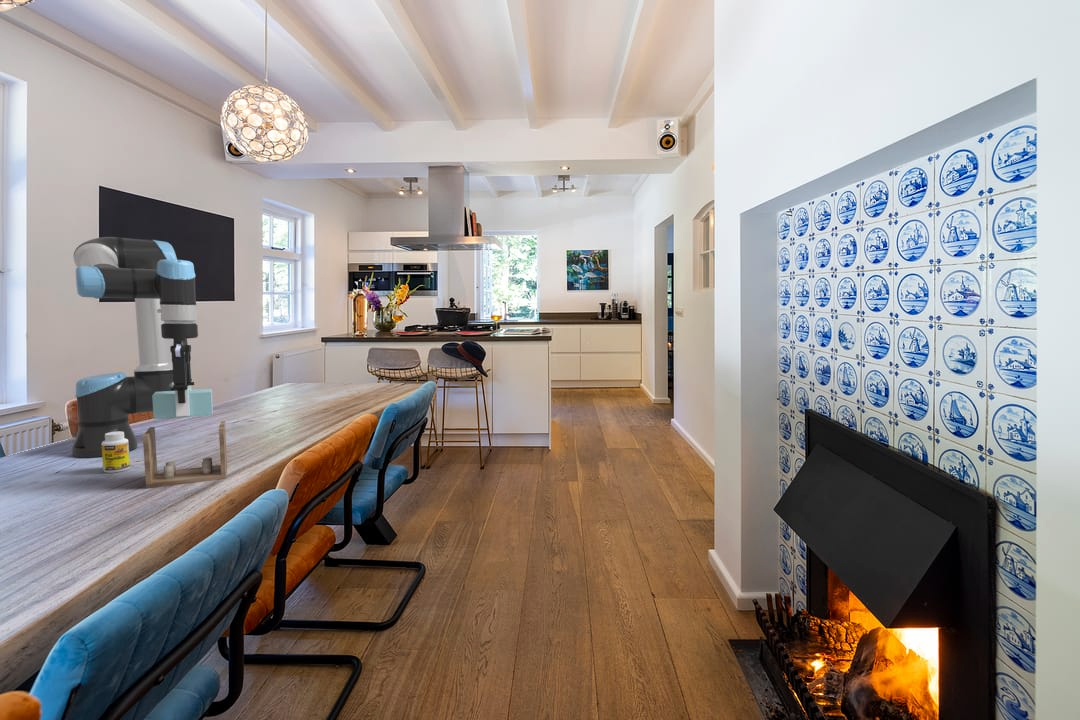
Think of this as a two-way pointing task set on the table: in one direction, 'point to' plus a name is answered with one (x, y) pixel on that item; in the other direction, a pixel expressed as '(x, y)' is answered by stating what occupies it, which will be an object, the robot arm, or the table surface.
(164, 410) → the shelf board
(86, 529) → the table surface
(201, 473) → the peg bracket
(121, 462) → the supplement bottle
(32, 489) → the table surface
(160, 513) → the table surface
